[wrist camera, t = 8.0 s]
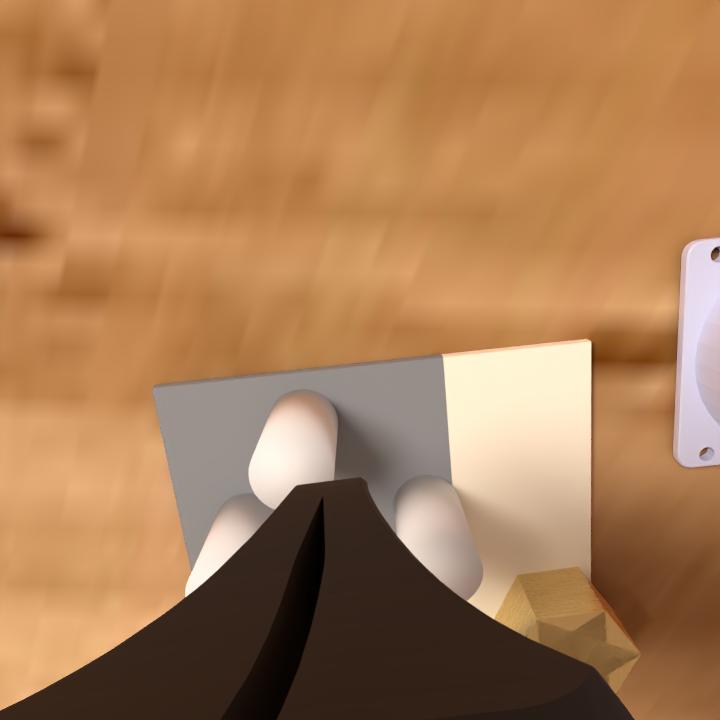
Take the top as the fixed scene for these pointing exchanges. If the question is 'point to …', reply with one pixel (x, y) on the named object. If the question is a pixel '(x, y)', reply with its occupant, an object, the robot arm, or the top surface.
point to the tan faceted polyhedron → (570, 621)
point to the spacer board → (399, 457)
